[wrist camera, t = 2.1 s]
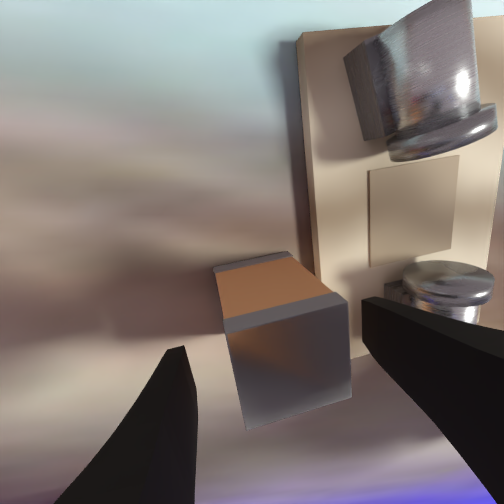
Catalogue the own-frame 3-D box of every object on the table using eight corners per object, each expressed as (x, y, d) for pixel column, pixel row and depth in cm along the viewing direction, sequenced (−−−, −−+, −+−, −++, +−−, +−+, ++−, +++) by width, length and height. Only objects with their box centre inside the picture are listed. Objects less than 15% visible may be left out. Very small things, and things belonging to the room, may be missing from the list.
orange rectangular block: (294, 315, 15) (352, 397, 10) (227, 332, 15) (246, 430, 9) (287, 251, 14) (348, 301, 8) (213, 267, 13) (224, 333, 8)
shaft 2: (421, 315, 17) (501, 365, 13) (373, 329, 17) (438, 385, 12) (426, 249, 16) (517, 279, 11) (373, 262, 15) (446, 298, 11)
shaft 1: (417, 136, 14) (526, 117, 9) (358, 164, 13) (439, 159, 9) (399, 35, 12) (519, -49, 8) (331, 65, 12) (414, -2, 7)
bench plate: (466, 316, 18) (480, 323, 17) (321, 357, 17) (328, 366, 16) (503, 23, 13) (525, 12, 12) (295, 42, 11) (303, 31, 10)
